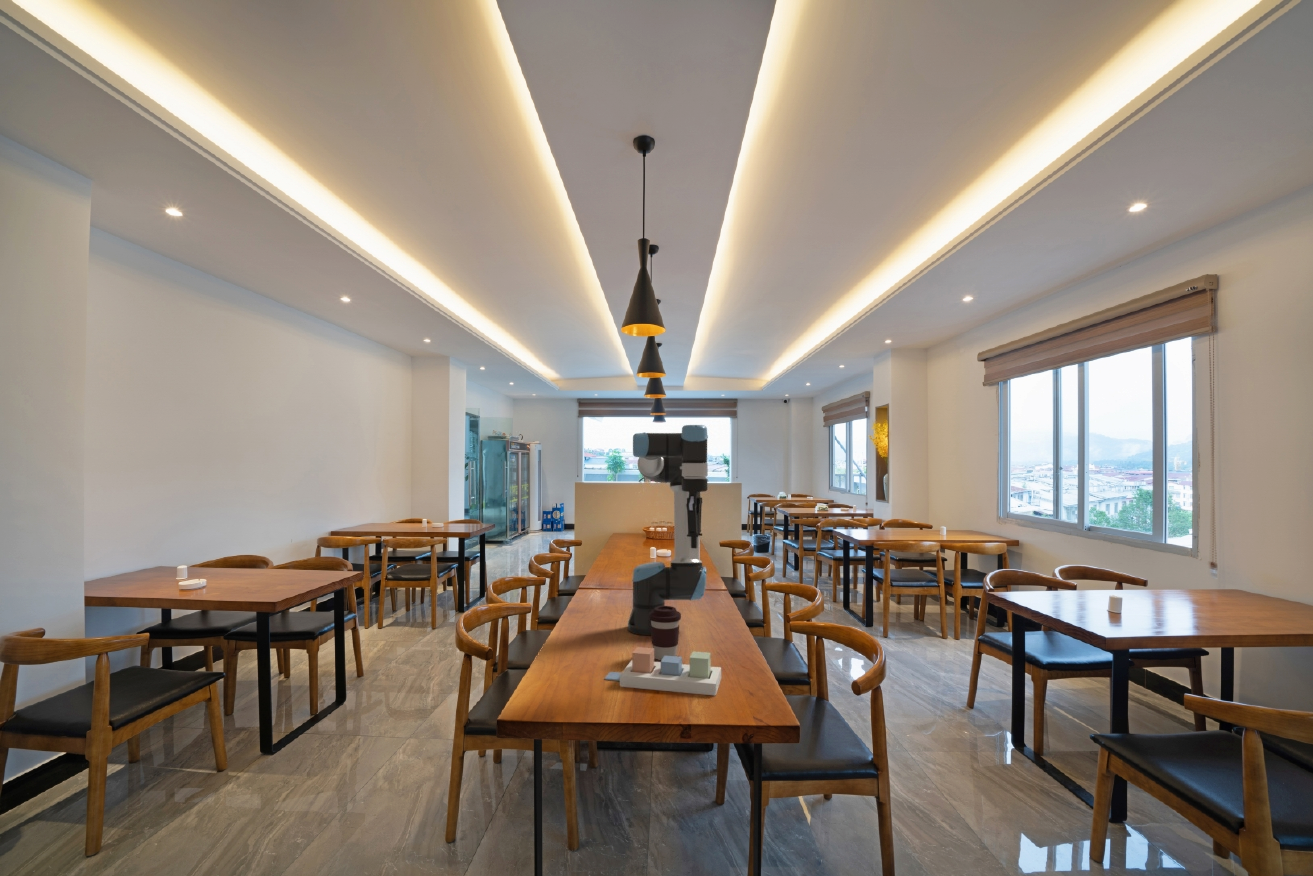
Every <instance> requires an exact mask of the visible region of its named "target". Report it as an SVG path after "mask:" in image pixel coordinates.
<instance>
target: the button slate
mask: <svg viewBox="0 0 1313 876" xmlns="http://www.w3.org/2000/svg"><path fill="white" fill-rule="evenodd" d="M660 662H661V675H672V676H680V675H681V673H682V664H683V656H664V657H663V659H662V660H660Z"/></svg>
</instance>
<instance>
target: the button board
mask: <svg viewBox="0 0 1313 876" xmlns="http://www.w3.org/2000/svg"><path fill="white" fill-rule="evenodd" d="M620 673H621V674H620V681H619V687H621V688H631V689H634V688H635V689H644V690H651V691H652V690H655V691H661V692H662V691H664V692H672V693H673V692H674V693H685V694H694V695H695V694H696V695H704V696H705V695H707V696H715V697H716V696H717V693H718V689H719V687H720V683H721V680H722V667H720V666H719V667H718V666H711V672H710V675H709V678H708V679H705V678H694V677H690V664H685V663H684V664H683V663H682V673H681V675H680V676H672V675H661V661H654V668H653V670H652V671H651V673H638V672H632V659H631V660H630V661H629V663H628V664H627V665H626V667H625V668H624V669H623V670H622V672H620Z"/></svg>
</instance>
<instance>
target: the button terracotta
mask: <svg viewBox="0 0 1313 876" xmlns="http://www.w3.org/2000/svg"><path fill="white" fill-rule="evenodd" d="M631 656H632V657H631V660H632V672H638V673H651V671H652V670H653V668H654V662H655V658H654V648H653V647H643V646H642V647H641V646H637V647H636V648H635V649H634V650H633V651H632V654H631Z"/></svg>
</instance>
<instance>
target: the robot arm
mask: <svg viewBox="0 0 1313 876" xmlns="http://www.w3.org/2000/svg"><path fill="white" fill-rule="evenodd" d="M708 438H709V435H708V428H707V426H706V425H705V424H686V425H683V426H682V427H681V432H638V433H634V434H633V436H632V455H633V456H634V457H635V458H638V459H637V469H638V471H639V473H640V474H641V475H642V476H643V477H644V478H646V479H647V480H650V481H652V482H656V483H658V484H659V483H660V484H669V488H670V490H672V492H673V498H674V499H673V501H674V502H673V505H674V506H673V507H674V508H673V509H674V518H673V520H674V522H673V523H674V524H673V525H674V526H673V527H674V557H673V558H672V560H671V561H670V566H666V565H665V563H664V562H658V561H657V562H647V563H643V564H639V565H637V566H636V567H634V568H633V571H632V579H631V582H632V608H631V612H630V615H629V618H628V622H627V631H628V632H630V633H632V634H635V635H640V636H651V620H650V619H649V613H650V612H652V611H653V610H654V608H655V607H658V606H666V605H665V602H666V601H696V600H697V601H699V600H702V598H703V597H704V595H705V592H706V585H707V567H706V566H703V561H702V560H701V559H700V553H701V551H700V550H701V549H700V548H701V546H700V543H701V542H700V540H701V539H700V538H701V537H700V536H703V533H701V532H702V507H703V497H701V492H704V493H705V492H708V478H707V477H709V476H708V469H709V468H708V466H709V465H708V464H709V463H708Z"/></svg>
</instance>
